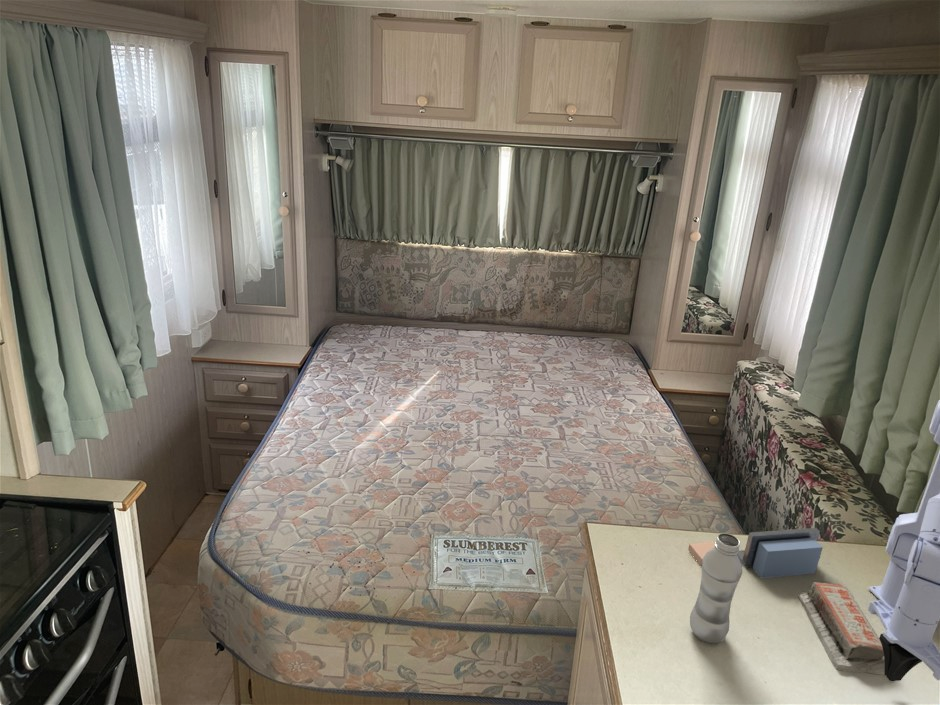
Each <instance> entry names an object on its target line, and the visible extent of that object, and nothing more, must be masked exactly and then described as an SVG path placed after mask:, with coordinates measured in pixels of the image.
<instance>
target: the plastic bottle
mask: <svg viewBox="0 0 940 705" xmlns="http://www.w3.org/2000/svg"><path fill="white" fill-rule="evenodd" d="M715 541H716V542H715V545H714V546H715V547H714V548H712V549H711V550H709V551H708V552H707V553H706V554H705V556H704V557H703V561H702V566H701V580H700V584H699V585H700V586H699V592H698V595H697V598H696V601H695V603H694V606H693V607H692V609H691V611H690V615H689V626H690V629H691V630H692V633H693V634H694V635H695V637H697V638H698V639H699V640H701V641H703V642H706V643H709V644H718V643H721V642H722V641H724V640H725V639H726V637H727V635H728V634H729V630H730V613H731V606H732V601H733V598H734V594H735V591H736V589H737V586H738V584H739V582H740V580H741V578H742V575H743V564H742V563H741V562H740V559H739V557H738V556H737V554H738V553H739V551H740V547H741V541H740V539H739V538H738V537H737V536H735V535H734V534H731V533H727V532H721V533H719V534H718V535H717V537H716V539H715Z"/></svg>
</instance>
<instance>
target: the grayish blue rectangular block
mask: <svg viewBox="0 0 940 705" xmlns="http://www.w3.org/2000/svg"><path fill="white" fill-rule="evenodd" d="M823 548H824V546H822V545H821V544H820V543H819V542H818V540H817V541H816V540H815V539H814V538H805V539H791V540H778V541H765V542H759V545H758V549H757V553H756V557H755V561H754V565H753V567H752V569H753V570H754V572H755V573H756V574H757V576H758V577H759V578H760V579H766V578H778V577H789V576H800V575H801V576H803V575H814V574H816V572H817V568H818V565H819V562H820V558H821V555H822V552H823Z"/></svg>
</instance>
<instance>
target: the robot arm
mask: <svg viewBox="0 0 940 705" xmlns="http://www.w3.org/2000/svg"><path fill="white" fill-rule="evenodd" d="M928 431H929V433H930V434H931V435H933V436H934V437H933V441H934V443H936V444H937V445H938V446H939V447H940V399H939V400H938V401H937V403H936V406H935V408H934V411H933V414H932V418H931V422H930V424H929V429H928ZM887 539H888V540H887V544H886V546H885V552H886V553H887V555H888V556H889V557H890V561H889V562H888V567H887V570H886V573H885V575H884V577H883V580H882V584H881V585H874V586H872V585H871V586H868V590H869V591H870V592H871V593H872V594H873V595H874V596H875V597H876V598H877V599H878V600H871V601H870V603H869V605H868V609H867V611H868V612H869V613H870V614H871V615H876V616H877V617H878V619H879V620H880V622H881V624H882V626H883V628H884V630H883V632H882V633H880V635H879V636H878V637H879V639H880V641H881V644H882V647H883V652H884V662H885V675H884V677H886V678H887V679H888V681H889V682H892V683H893V682H898V681H901V680H902V679H903V678H904V677H905V676H906V675H907V674H908V673H909V672H910V671H911V670H912V669H913V668H914V667H916V666H918V665H919V664H921V663H922V662H923V664H925V665H926V666H927V667H928V668H929V669H930V670H931V671H932V672H933V673H932V677H934V678H935V679H936V680H937V681H940V651H939V649H938V647H937V645H936V644H935V641H933V638H934V636H935V633H936V629H937V628H938V625H939V622H940V449H939V451H938V453H937V456H936V458H935V463H934V465H933V467H932V470H931V473H930V477H929V479H928V482H927V484H926V487H925V490H924V493H923V496H922V499H921V501H920V504H919V507H918V510H917V512H910V513H903V514H899V516H898V517H896V519H895V522H894V524H893V525H892V528H891V530H890V533H889V536H888V538H887Z"/></svg>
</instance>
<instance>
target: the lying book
mask: <svg viewBox="0 0 940 705" xmlns="http://www.w3.org/2000/svg"><path fill="white" fill-rule="evenodd" d="M715 542H716V540H715V541H704V542H696V543H689V545H688V549H687V550H689V551H690V552H689V551H688V552H689V553H690V554H691V556H692V555H693V556H694V557H693V556H692V557H693V558H694V560H695V561H696V560H697V561H696V562H697V563H698V564H699V566H700V567H702V561H703V557H704V556H705V554H706V553H707V552H708V551H709V550H711V549H712V548H714V547H715V546H714V545H715Z"/></svg>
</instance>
